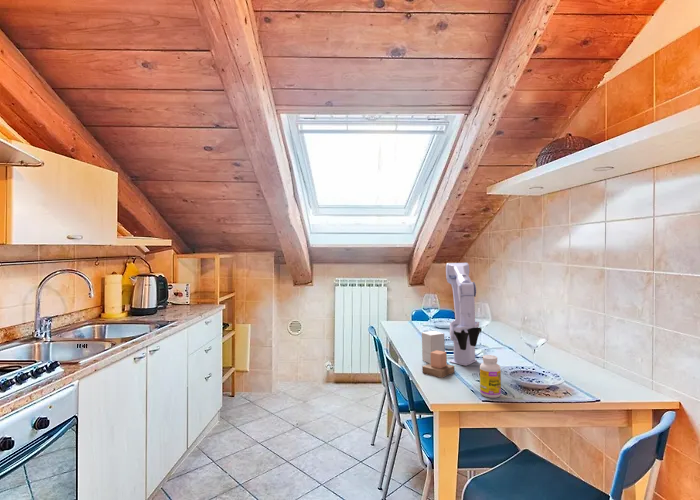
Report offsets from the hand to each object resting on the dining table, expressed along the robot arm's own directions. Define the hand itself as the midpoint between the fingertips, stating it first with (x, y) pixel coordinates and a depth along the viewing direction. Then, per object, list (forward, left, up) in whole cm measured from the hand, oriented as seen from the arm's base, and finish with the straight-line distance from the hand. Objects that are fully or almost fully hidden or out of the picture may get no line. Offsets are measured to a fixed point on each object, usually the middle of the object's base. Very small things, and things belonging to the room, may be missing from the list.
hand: (468, 347), depth 152 cm
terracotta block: (+6, -10, -8) cm, 14 cm away
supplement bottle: (+14, +16, -11) cm, 24 cm away
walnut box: (+6, -10, -11) cm, 16 cm away
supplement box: (-5, -20, -11) cm, 23 cm away
